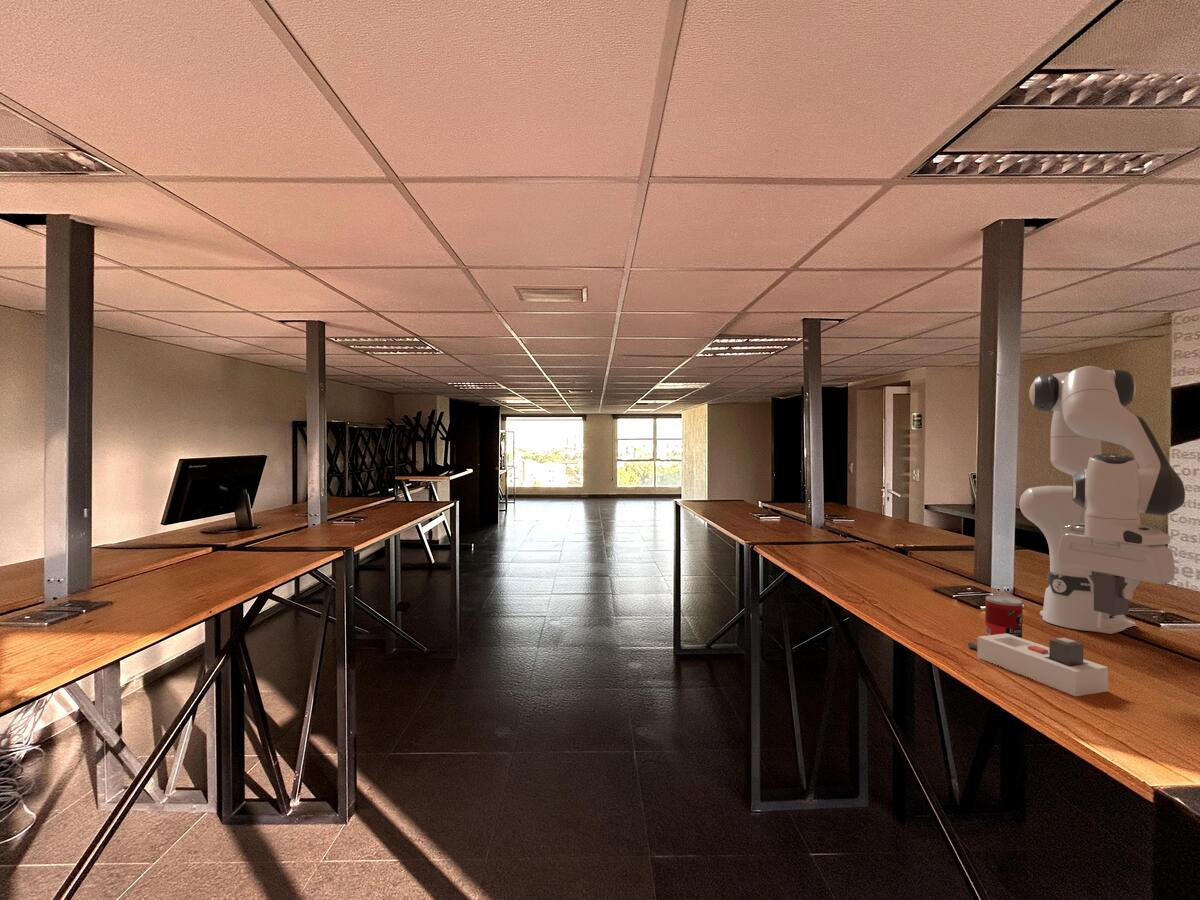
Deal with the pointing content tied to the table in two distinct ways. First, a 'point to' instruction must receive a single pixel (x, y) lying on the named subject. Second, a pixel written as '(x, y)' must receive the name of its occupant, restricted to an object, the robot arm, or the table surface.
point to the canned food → (1003, 615)
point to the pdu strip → (1045, 662)
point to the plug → (1109, 594)
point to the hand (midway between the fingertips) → (1111, 595)
